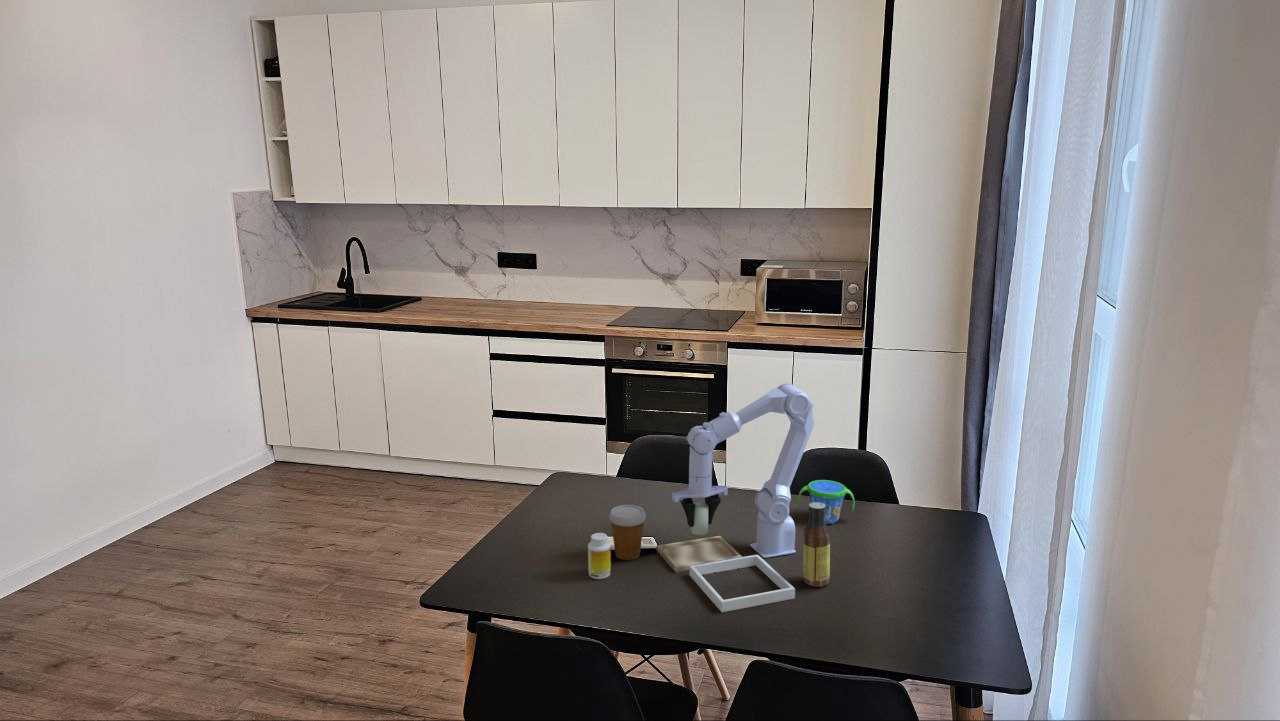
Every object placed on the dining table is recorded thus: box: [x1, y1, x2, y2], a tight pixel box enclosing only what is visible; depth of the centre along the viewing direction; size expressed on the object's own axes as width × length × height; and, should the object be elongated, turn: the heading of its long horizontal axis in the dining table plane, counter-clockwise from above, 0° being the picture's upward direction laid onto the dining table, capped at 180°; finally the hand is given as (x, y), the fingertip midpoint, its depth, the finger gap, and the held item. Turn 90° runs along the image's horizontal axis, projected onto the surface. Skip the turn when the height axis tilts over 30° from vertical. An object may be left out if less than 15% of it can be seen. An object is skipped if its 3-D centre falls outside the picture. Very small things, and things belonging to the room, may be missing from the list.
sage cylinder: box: [690, 501, 709, 536], centre depth 211 cm, size 4×4×7 cm
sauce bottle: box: [802, 502, 831, 588], centre depth 198 cm, size 6×6×20 cm
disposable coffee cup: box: [608, 504, 647, 561], centre depth 213 cm, size 10×10×12 cm
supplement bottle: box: [587, 532, 612, 580], centre depth 203 cm, size 6×6×10 cm
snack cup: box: [797, 479, 856, 525], centre depth 235 cm, size 16×10×10 cm
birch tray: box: [656, 535, 743, 574], centre depth 214 cm, size 18×13×2 cm
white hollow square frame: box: [689, 554, 796, 613], centre depth 198 cm, size 19×19×2 cm
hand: (699, 524), depth 212 cm, fingers closed on sage cylinder, 4 cm apart
